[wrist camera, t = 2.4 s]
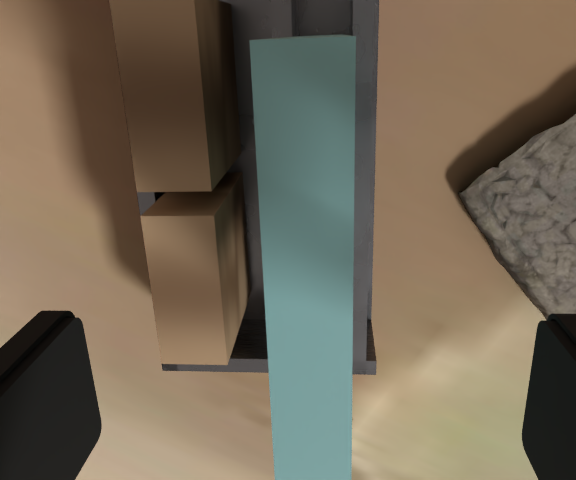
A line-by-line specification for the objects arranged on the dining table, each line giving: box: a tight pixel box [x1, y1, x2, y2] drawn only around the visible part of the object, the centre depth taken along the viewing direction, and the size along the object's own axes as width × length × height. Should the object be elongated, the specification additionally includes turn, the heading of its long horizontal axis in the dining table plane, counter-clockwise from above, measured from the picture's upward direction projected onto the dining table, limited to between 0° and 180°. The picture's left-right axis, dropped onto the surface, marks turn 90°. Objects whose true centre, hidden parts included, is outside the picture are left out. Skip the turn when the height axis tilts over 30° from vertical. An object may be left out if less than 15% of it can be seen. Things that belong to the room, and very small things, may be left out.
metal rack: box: [137, 0, 379, 375], centre depth 26 cm, size 20×11×5 cm, turn 2°
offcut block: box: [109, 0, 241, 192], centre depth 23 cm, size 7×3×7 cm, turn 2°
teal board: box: [249, 34, 356, 480], centre depth 18 cm, size 12×2×18 cm, turn 2°
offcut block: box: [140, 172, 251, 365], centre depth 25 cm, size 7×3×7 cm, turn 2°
